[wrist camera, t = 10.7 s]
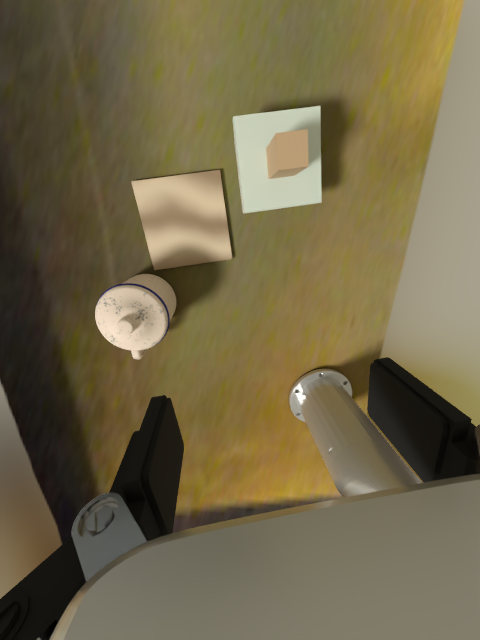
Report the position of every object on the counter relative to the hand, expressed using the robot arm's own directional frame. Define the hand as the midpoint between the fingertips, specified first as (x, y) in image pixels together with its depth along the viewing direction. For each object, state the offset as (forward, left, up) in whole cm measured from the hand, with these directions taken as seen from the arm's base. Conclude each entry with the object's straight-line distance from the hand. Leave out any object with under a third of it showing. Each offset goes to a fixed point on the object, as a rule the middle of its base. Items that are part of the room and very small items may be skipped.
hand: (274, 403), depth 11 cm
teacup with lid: (-3, +14, -31) cm, 34 cm away
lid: (+14, -8, -26) cm, 30 cm away
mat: (+9, +6, -30) cm, 32 cm away
